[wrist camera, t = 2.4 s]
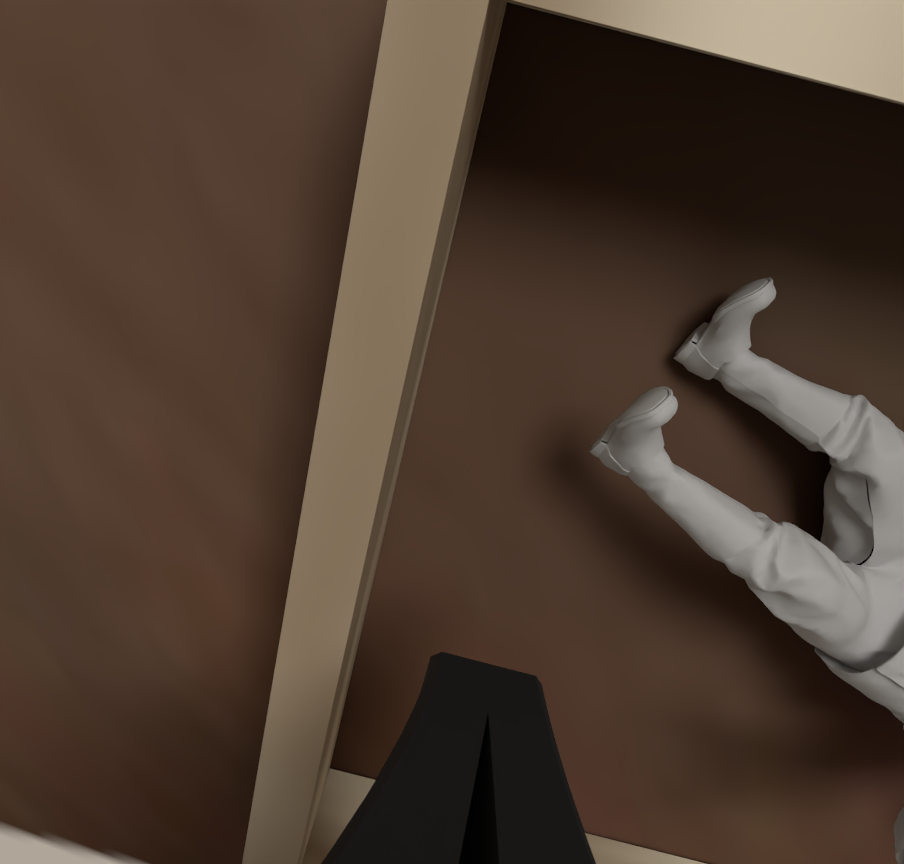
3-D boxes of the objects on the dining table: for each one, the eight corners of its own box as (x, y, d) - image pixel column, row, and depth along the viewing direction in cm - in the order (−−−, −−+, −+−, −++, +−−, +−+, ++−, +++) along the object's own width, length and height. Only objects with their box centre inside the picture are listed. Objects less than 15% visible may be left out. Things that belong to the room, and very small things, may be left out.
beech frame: (282, 785, 19) (229, 935, 16) (453, -102, 11) (413, -152, 8) (893, 940, 19) (960, 1117, 16) (1540, 184, 11) (1938, 250, 8)
